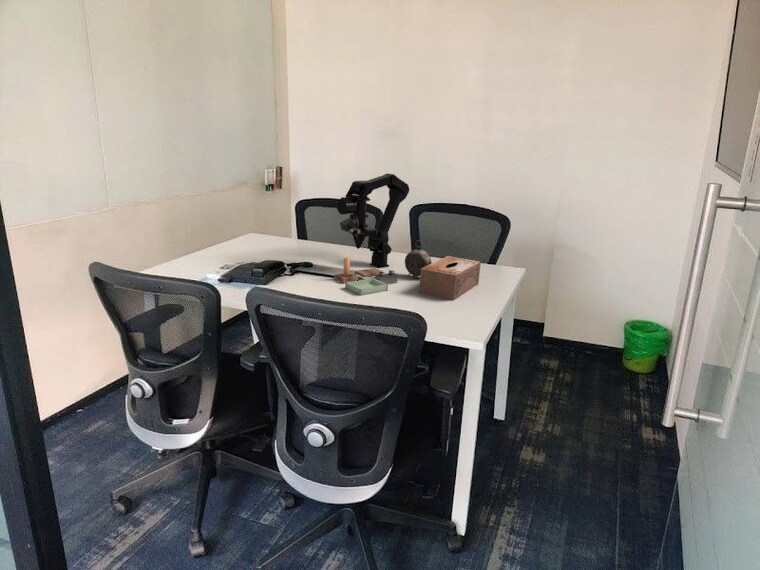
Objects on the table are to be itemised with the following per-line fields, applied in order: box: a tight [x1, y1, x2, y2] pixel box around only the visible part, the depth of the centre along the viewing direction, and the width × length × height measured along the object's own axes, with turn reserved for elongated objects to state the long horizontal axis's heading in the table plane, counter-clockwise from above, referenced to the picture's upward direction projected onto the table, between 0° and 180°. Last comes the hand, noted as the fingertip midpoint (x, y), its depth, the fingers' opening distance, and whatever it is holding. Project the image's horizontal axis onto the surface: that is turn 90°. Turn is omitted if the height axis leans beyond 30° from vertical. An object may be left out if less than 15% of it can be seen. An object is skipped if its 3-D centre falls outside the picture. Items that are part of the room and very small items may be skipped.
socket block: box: [333, 272, 359, 285], centre depth 230 cm, size 7×7×2 cm
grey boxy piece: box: [374, 270, 399, 285], centre depth 228 cm, size 9×3×5 cm, turn 127°
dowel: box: [343, 257, 351, 277], centre depth 229 cm, size 2×2×9 cm
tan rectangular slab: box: [354, 267, 384, 277], centre depth 237 cm, size 10×7×2 cm
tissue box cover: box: [418, 255, 481, 301], centre depth 224 cm, size 26×14×10 cm, turn 150°
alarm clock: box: [404, 239, 433, 279], centre depth 236 cm, size 11×5×16 cm, turn 55°
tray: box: [345, 278, 389, 297], centre depth 219 cm, size 13×10×2 cm
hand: (358, 248), depth 241 cm, fingers closed
